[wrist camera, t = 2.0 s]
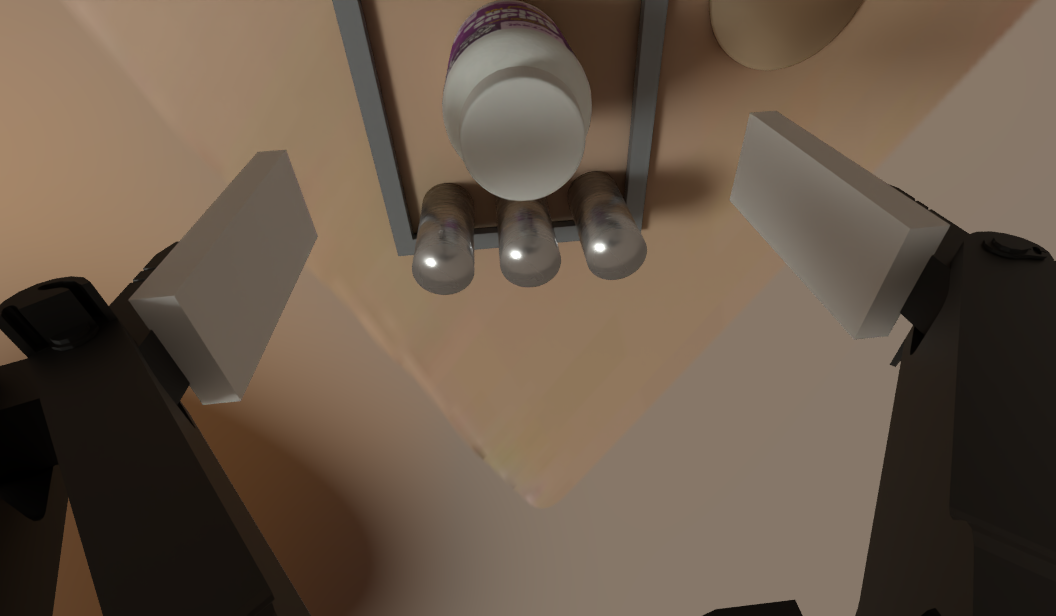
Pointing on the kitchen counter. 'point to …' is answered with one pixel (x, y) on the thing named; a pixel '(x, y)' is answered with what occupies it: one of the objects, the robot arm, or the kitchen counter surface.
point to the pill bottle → (516, 101)
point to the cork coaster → (777, 29)
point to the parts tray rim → (484, 238)
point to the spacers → (525, 236)
